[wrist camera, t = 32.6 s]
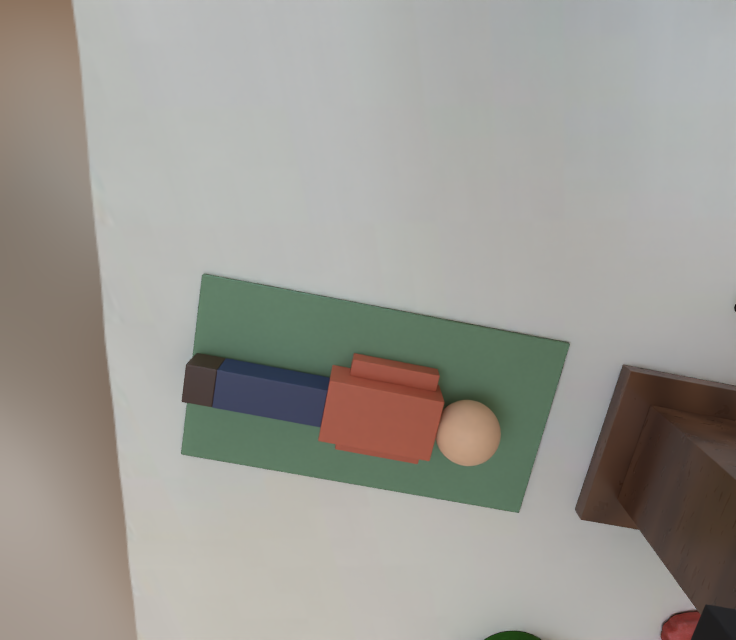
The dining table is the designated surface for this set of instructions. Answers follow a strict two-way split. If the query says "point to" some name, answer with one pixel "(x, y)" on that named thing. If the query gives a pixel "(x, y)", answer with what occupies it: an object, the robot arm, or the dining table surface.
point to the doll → (353, 406)
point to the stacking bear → (680, 626)
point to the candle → (513, 636)
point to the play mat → (336, 347)
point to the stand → (671, 477)
